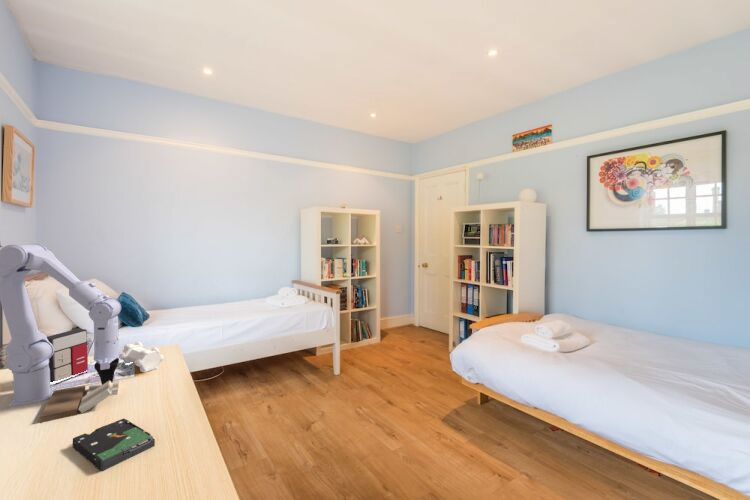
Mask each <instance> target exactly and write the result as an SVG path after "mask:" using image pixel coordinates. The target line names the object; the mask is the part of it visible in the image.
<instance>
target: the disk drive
mask: <svg viewBox="0 0 750 500" xmlns="http://www.w3.org/2000/svg"><path fill="white" fill-rule="evenodd" d="M155 444H156V440H155V438H154V437H153V435H151V433H150V432H148V431H146V430H144V429H143V428H141V427H140V426H138V425H136V424H135V423H133V422H131V421H129V420H128V419H126V418H121V419H119V420H118V419H117V420H116V421H114V422H111V423H109V424H106V425H103V426H101V427H97V428H96V429H95V430H93V431H92V432H91V433H83V434H80V435H77V436H75V437H73V438H72V448H73V449H74V451H76V452H77V453H79V454H80V455H81V456H82V457H84V458H85V459H86V460H87V462H90V464H92V465H93V466H94V467H95V468H96V469H97V470H99V471H100V472H104V471H106V470H109V469H110V468H112V467H114V466H116V465H118V464H119V465H120V464H121V463H123V462H125V461H127V460H128V459H131V458H134V457H135V456H137V455H139V454H141V453H143V452H145V451H147V450H149V449H152V448H154V447H155Z"/></svg>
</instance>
